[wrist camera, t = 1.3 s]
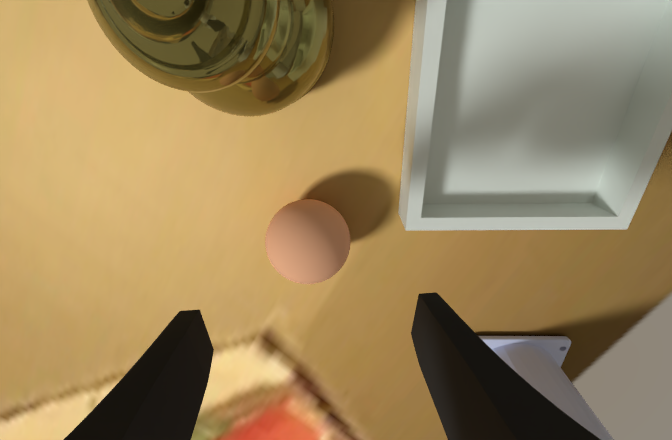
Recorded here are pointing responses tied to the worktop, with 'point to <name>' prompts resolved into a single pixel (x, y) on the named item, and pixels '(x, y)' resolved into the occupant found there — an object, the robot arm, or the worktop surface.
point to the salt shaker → (224, 47)
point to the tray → (534, 113)
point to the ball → (307, 241)
